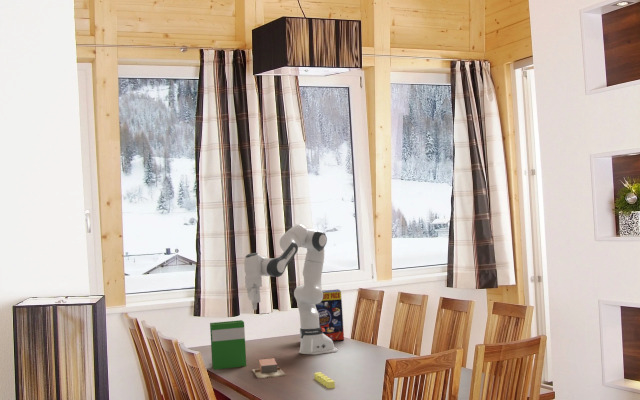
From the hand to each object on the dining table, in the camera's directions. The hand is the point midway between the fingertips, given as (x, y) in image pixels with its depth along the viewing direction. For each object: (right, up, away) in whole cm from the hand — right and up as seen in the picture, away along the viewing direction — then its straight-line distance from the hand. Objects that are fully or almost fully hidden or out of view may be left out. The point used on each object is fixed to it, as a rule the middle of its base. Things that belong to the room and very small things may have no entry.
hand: (254, 309), depth 404 cm
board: (+8, -30, -15) cm, 35 cm away
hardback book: (-15, -32, +8) cm, 36 cm away
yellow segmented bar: (+39, -29, -43) cm, 65 cm away
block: (+7, -26, -11) cm, 29 cm away
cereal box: (+37, -31, +74) cm, 88 cm away
